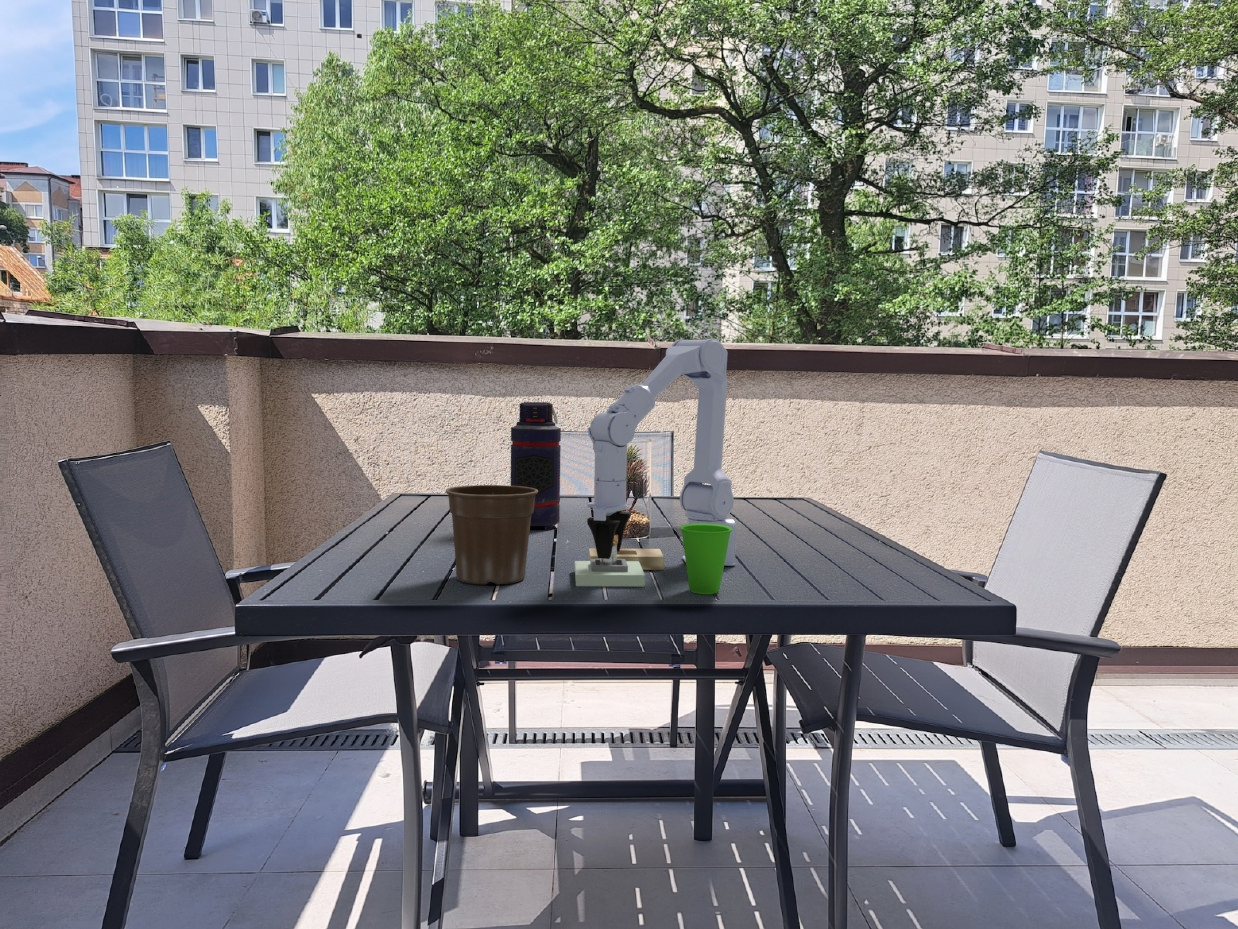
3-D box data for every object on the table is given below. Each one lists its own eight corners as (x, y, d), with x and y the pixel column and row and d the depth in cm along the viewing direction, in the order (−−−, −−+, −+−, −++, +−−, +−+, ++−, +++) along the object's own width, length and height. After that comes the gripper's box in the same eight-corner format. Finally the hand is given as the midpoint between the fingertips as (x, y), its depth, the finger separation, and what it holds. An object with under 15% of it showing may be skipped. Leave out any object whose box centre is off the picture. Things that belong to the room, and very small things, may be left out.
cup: (739, 595, 153) (741, 531, 152) (688, 598, 151) (690, 532, 150) (718, 583, 162) (720, 522, 161) (670, 586, 159) (672, 524, 158)
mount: (659, 561, 181) (659, 548, 181) (663, 569, 173) (664, 556, 173) (588, 560, 180) (589, 548, 180) (590, 569, 172) (590, 556, 172)
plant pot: (481, 565, 174) (482, 481, 172) (553, 575, 166) (555, 487, 165) (426, 581, 159) (426, 490, 158) (502, 593, 152) (503, 497, 150)
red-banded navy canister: (558, 531, 214) (559, 403, 211) (507, 530, 213) (508, 402, 211) (560, 522, 227) (562, 402, 225) (513, 521, 227) (514, 401, 224)
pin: (616, 576, 166) (617, 533, 165) (618, 580, 163) (618, 536, 162) (598, 576, 166) (598, 533, 165) (599, 580, 163) (599, 536, 162)
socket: (638, 571, 171) (638, 556, 170) (644, 586, 159) (645, 569, 158) (574, 571, 170) (574, 555, 169) (576, 586, 158) (576, 569, 157)
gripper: (599, 474, 170) (598, 546, 172) (577, 483, 156) (576, 560, 158) (636, 476, 169) (634, 548, 170) (617, 484, 155) (615, 563, 156)
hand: (609, 554), depth 164 cm, fingers open, 6 cm apart
